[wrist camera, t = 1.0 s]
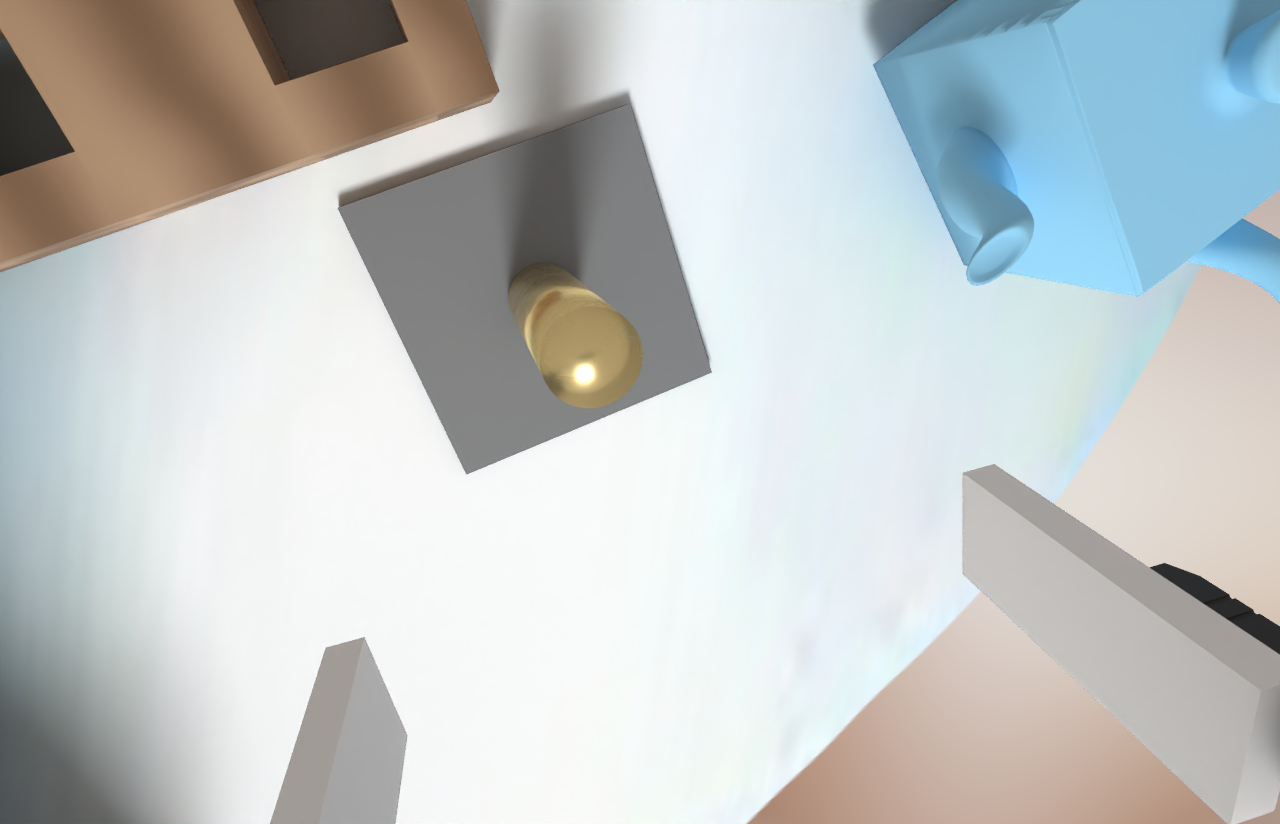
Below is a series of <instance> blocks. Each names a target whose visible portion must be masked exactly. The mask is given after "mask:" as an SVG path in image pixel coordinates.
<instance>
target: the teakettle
mask: <svg viewBox="0 0 1280 824" xmlns="http://www.w3.org/2000/svg"><path fill="white" fill-rule="evenodd" d="M873 66H874V68H875V70H876V72H877V75H878V77H879V79H880V81H881V83H882V86H883V88H884V90H885V92H886V94H887V97H888V99H889V101H890V103H891V105H892V108H893V110H894V112H895V114H896V116H897V119H898V121H899V123H900V125H901V127H902V129H903V132H904V134H905V136H906V138H907V140H908V143H909V145H910V147H911V149H912V151H913V154H914V156H915V158H916V160H917V163H918V165H919V167H920V169H921V172H922V174H923V176H924V178H925V180H926V182H927V185H928V187H929V189H930V191H931V193H932V195H933V198H934V200H935V202H936V204H937V206H938V209H939V211H940V213H941V215H942V218H943V220H944V222H945V224H946V226H947V229H948V231H949V233H950V235H951V238H952V240H953V242H954V244H955V246H956V248H957V251H958V253H959V255H960V257H961V259H962V262H963V264H964V265H966V266H968V267H967V272H966V275H967V280H968V281H969V282H970V283H971V284H972V285H976V286H977V285H983V284H986V283H989V282H991V281H993V280H994V279H996V278H998V277H999V276H1001V275H1002V274H1004V273H1010V274H1016V275H1021V276H1027V277H1032V278H1038V279H1043V280H1048V281H1054V282H1059V283H1065V284H1070V285H1076V286H1081V287H1087V288H1092V289H1098V290H1103V291H1109V292H1114V293H1120V294H1125V295H1131V296H1136V297H1138V296H1139V295H1141V294H1143V293H1144V292H1146V291H1147V290H1149V289H1150V288H1152V287H1153V286H1154V285H1156V284H1157V283H1158V282H1160V281H1161V280H1162V279H1164V278H1165V277H1166V276H1168V275H1169V274H1170V273H1172V272H1173V271H1174V270H1176V269H1177V268H1178V267H1179V266H1181V265H1182V264H1183V263H1185V262H1190V263H1195V264H1200V265H1205V266H1210V267H1213V268H1217V269H1220V270H1224V271H1227V272H1231V273H1234V274H1236V275H1238V276H1241V277H1243V278H1245V279H1248V280H1250V281H1252V282H1254V283H1255V284H1257V285H1258V286H1260V287H1261V288H1263V289H1264V290H1266V291H1267V292H1269V293H1270V294H1271V295H1272V296H1273V297H1274V298H1275V299H1276V300H1277V301H1278V302H1279V303H1280V239H1278V238H1277V237H1275V236H1273V235H1272V234H1270V233H1268V232H1266V231H1265V230H1263V229H1261V228H1259V227H1257V226H1255V225H1253V224H1252V223H1250V222H1248V221H1246V220H1244V219H1242V218H1243V217H1244V216H1246V215H1247V214H1248V213H1250V212H1251V211H1252V210H1253V209H1255V208H1256V207H1257V206H1259V205H1260V204H1261V203H1262V202H1264V201H1265V200H1266V199H1268V198H1269V197H1270V196H1271V195H1273V194H1274V193H1275V192H1277V191H1278V190H1279V189H1280V0H956V1H955V2H954V3H952V4H951V5H950V6H948V7H947V8H946V9H945V10H943V11H942V12H941V13H939V14H938V15H937V16H935V17H934V18H933V19H932V20H930V21H929V22H928V23H926V24H925V25H924V26H922V27H921V28H920V29H919V30H917V31H916V32H915V33H913V34H912V35H911V36H910V37H908V38H907V39H906V40H904V41H903V42H902V43H900V44H899V45H898V46H897V47H895V48H894V49H893V50H891V51H890V52H889V53H888V54H886V55H885V56H884V57H882V58H881V59H880V60H879V61H877V62H876V63H875V64H874V65H873Z"/></svg>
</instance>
